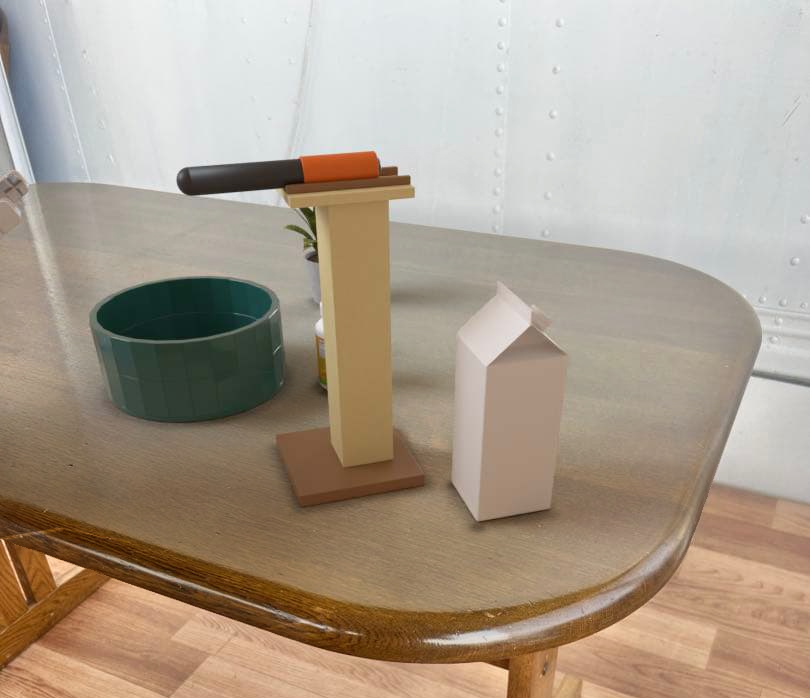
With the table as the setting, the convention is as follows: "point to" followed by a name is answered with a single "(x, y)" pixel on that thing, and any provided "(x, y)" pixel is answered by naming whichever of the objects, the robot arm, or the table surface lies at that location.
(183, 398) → the pot
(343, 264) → the stand
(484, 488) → the milk carton
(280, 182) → the marker
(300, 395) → the table surface
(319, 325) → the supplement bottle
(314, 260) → the house plant
